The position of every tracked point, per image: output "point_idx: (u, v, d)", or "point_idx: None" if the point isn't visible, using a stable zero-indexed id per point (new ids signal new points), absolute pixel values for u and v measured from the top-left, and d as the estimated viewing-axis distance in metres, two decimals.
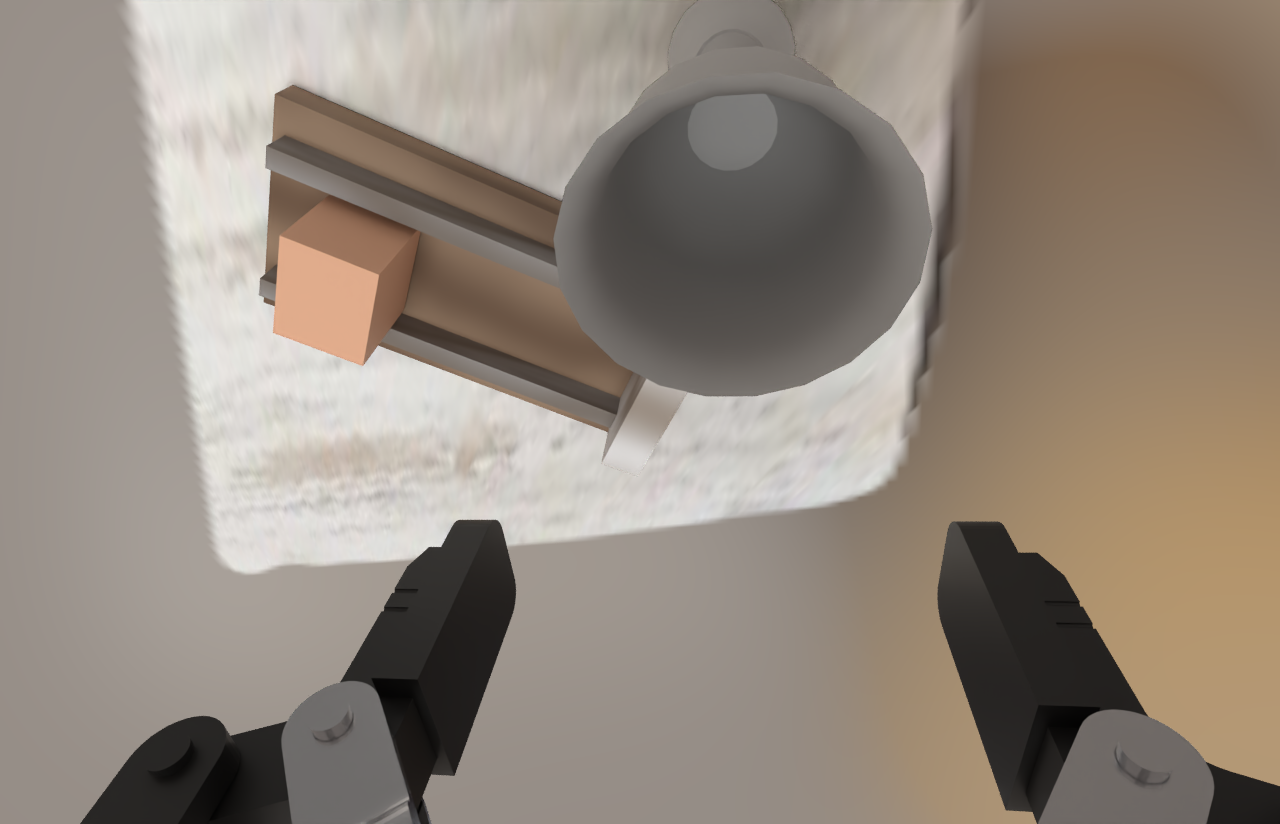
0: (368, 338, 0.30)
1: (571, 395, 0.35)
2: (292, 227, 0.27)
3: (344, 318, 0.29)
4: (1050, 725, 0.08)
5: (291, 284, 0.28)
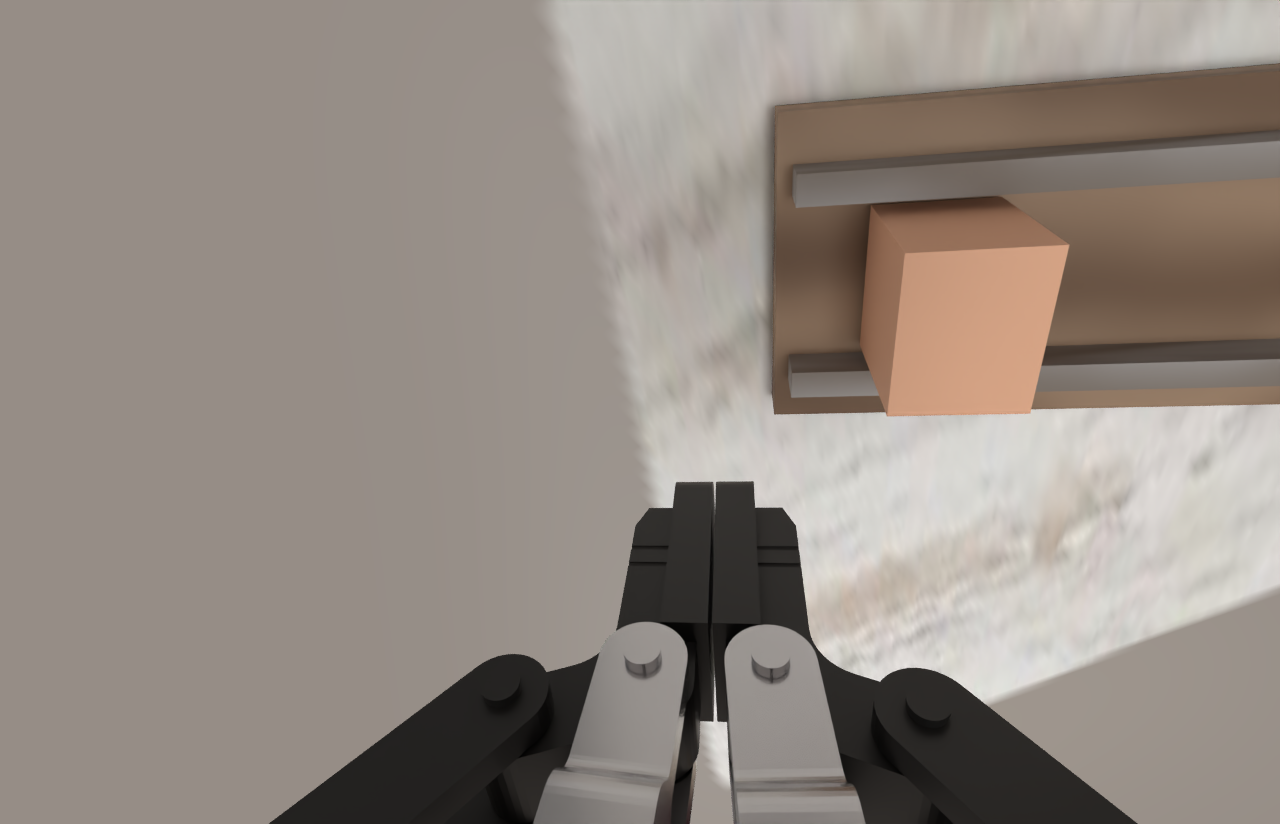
0: None
1: None
2: (901, 243, 0.18)
3: (1004, 345, 0.19)
4: (726, 641, 0.10)
5: (919, 326, 0.19)
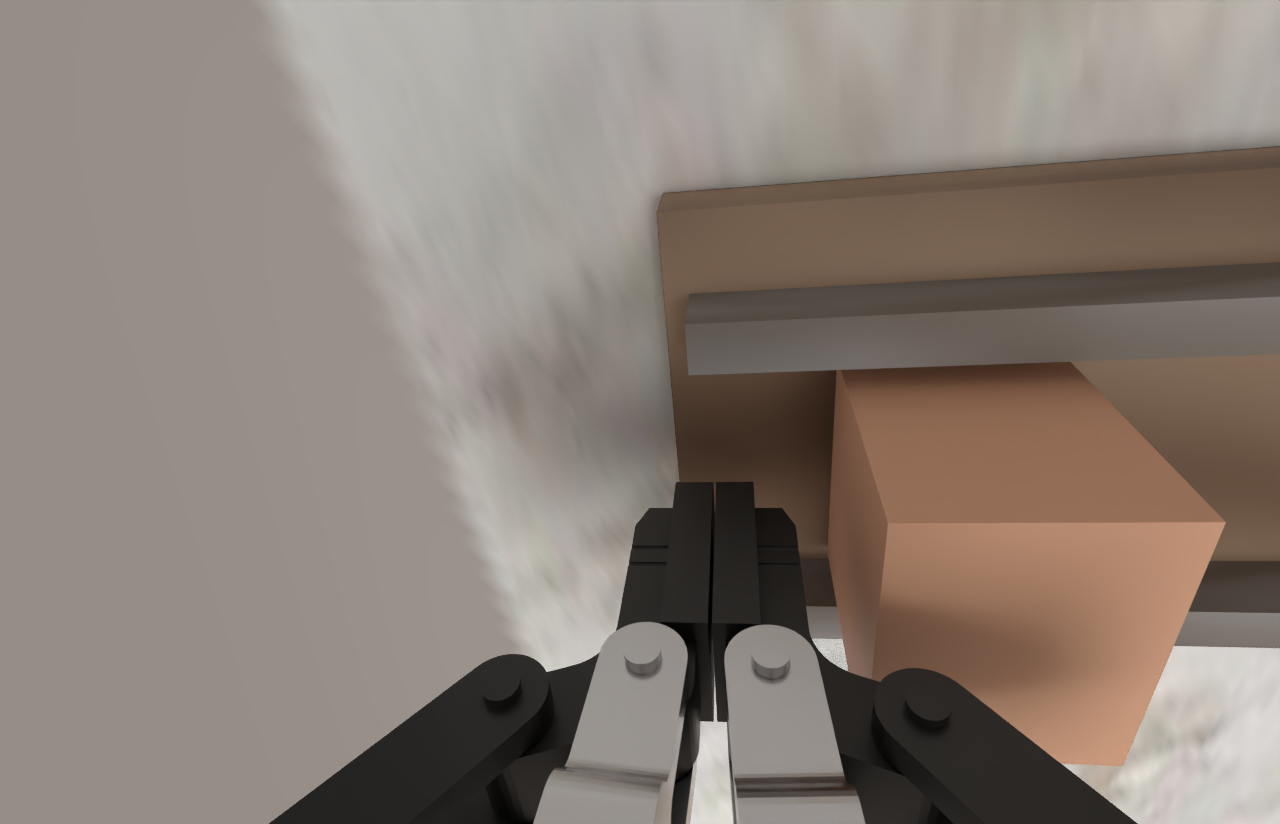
0: None
1: None
2: (882, 484, 0.10)
3: (1080, 671, 0.10)
4: (726, 641, 0.10)
5: (919, 635, 0.10)
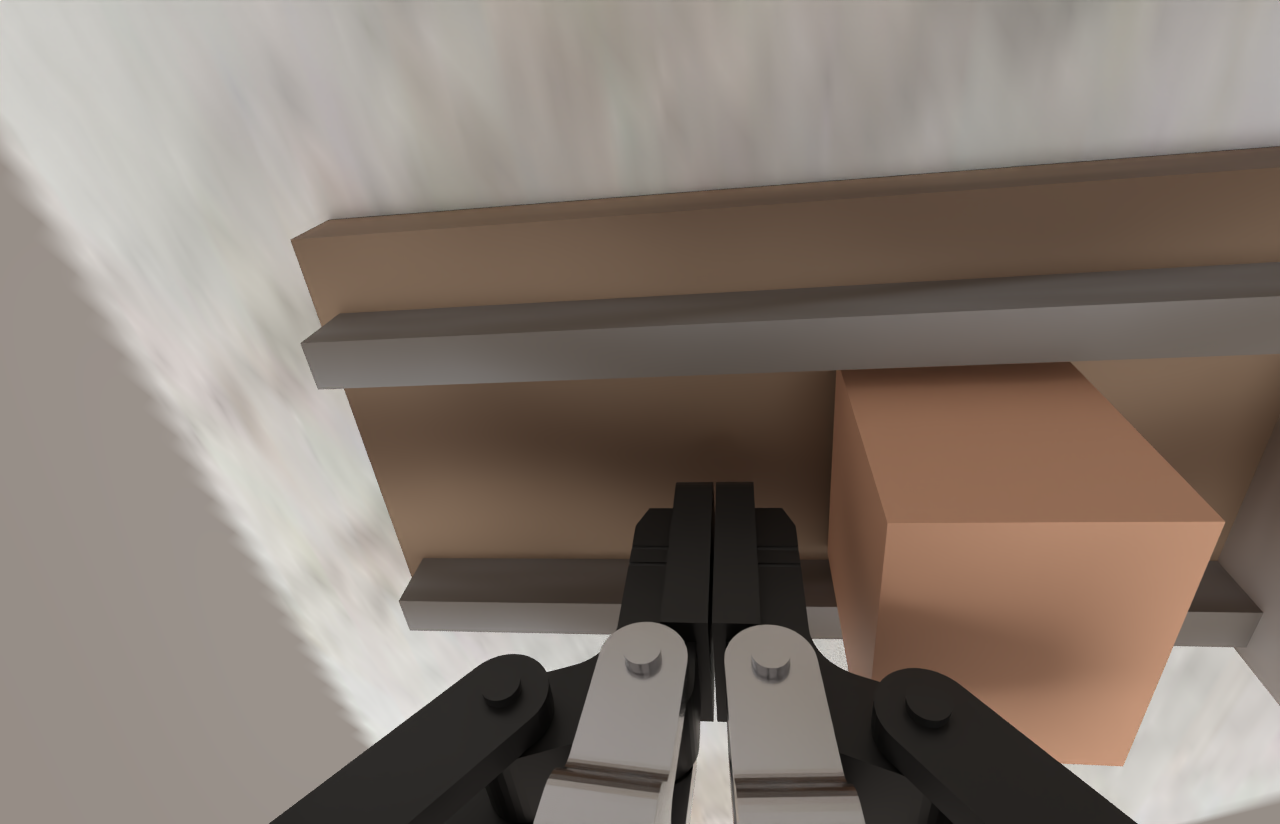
0: None
1: None
2: (881, 484, 0.10)
3: (1081, 671, 0.10)
4: (726, 641, 0.10)
5: (919, 634, 0.10)
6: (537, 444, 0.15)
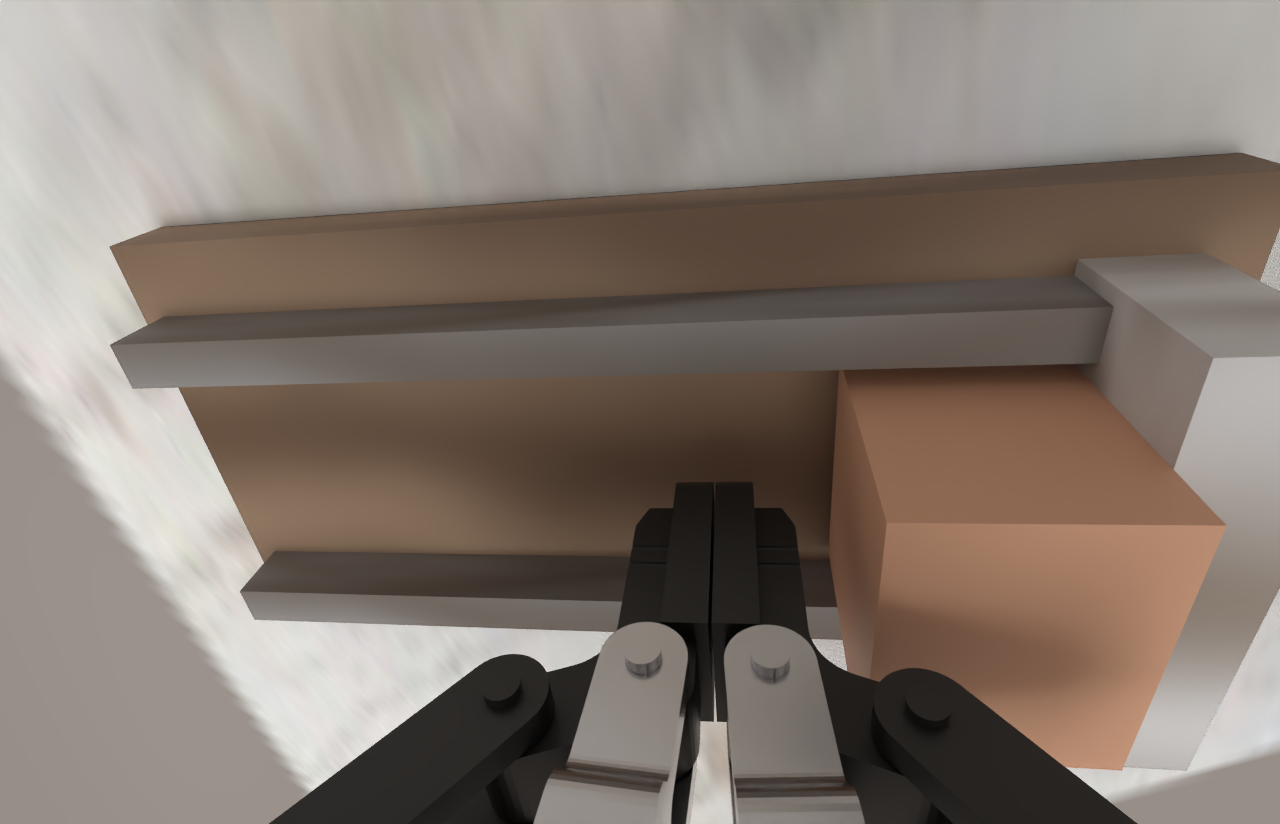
0: (1144, 701, 0.10)
1: None
2: (881, 484, 0.10)
3: (1079, 674, 0.10)
4: (725, 641, 0.10)
5: (917, 635, 0.10)
6: (363, 443, 0.16)
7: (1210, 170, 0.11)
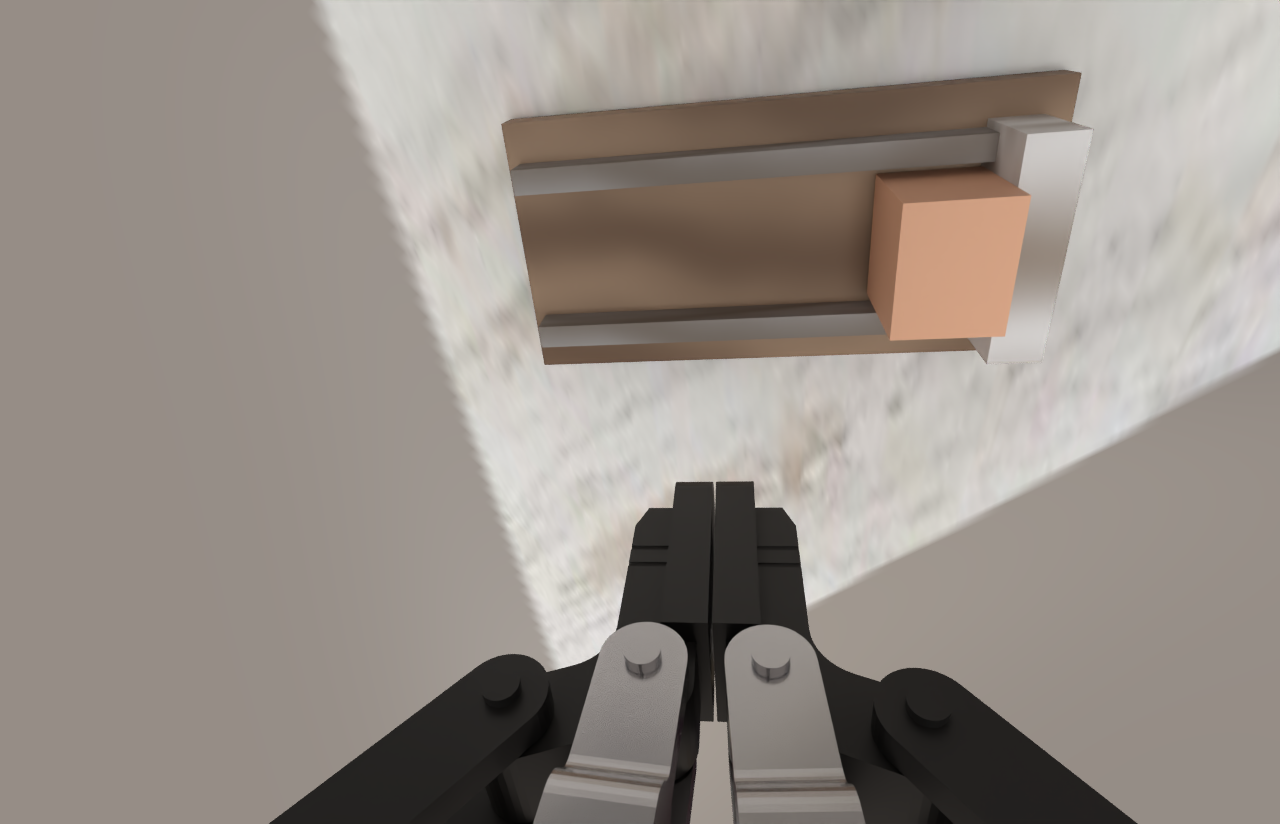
0: (1011, 294, 0.24)
1: None
2: (900, 197, 0.23)
3: (983, 279, 0.24)
4: (726, 641, 0.10)
5: (915, 263, 0.24)
6: (615, 237, 0.30)
7: (1045, 75, 0.25)
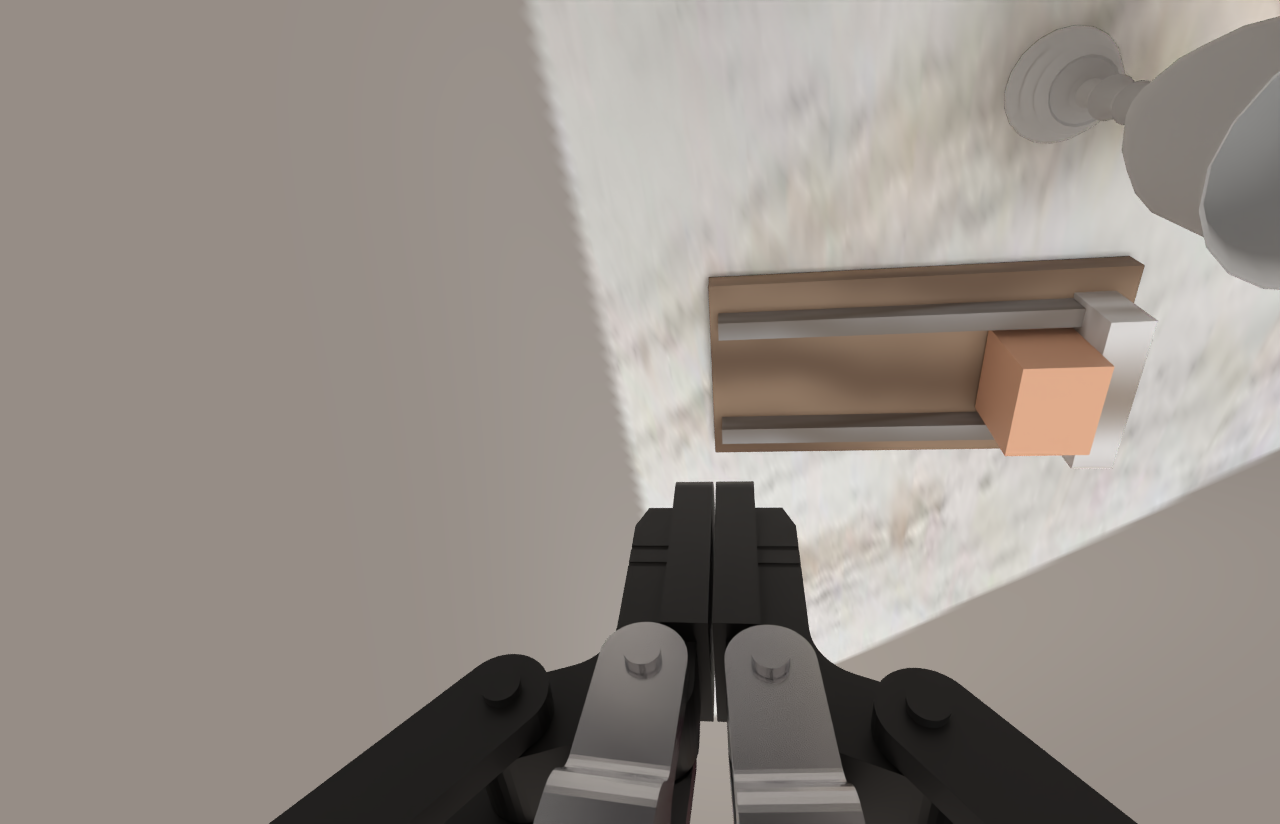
0: (1095, 427, 0.34)
1: None
2: (1018, 361, 0.33)
3: (1076, 418, 0.33)
4: (726, 640, 0.10)
5: (1028, 406, 0.33)
6: (784, 364, 0.39)
7: (1117, 264, 0.35)
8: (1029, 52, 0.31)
